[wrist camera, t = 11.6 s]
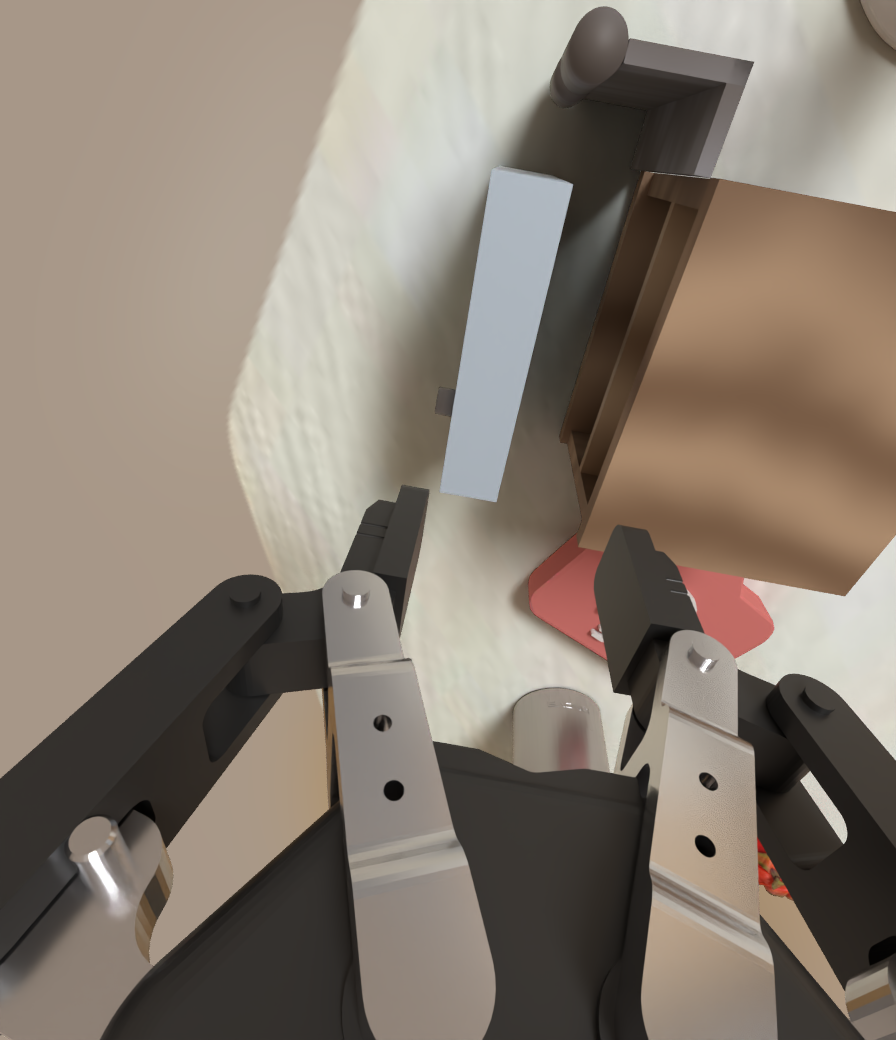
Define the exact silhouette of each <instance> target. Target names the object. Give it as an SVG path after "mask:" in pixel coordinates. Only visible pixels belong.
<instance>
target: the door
mask: <svg viewBox="0 0 896 1040" xmlns="http://www.w3.org/2000/svg"><path fill="white" fill-rule="evenodd" d="M572 188H573V184H571V183H569V182H567V181H564V180H562V179H560V178H557V177H555V176H553V175H548V174H542V173H537V172H531V171H526V170H520V169H515V168H509V167H504V166H497V167H495V168H494V169H492V171H491V177H490V183H489V190H488V196H487V202H486V208H485V214H484V220H483V227H482V233H481V239H480V245H479V251H478V257H477V263H476V270H475V276H474V282H473V288H472V294H471V300H470V307H469V313H468V319H467V325H466V331H465V337H464V344H463V350H462V356H461V362H460V368H459V374H458V381H457V387H456V390H454V389H448V388H443V387H439V391H438V396H437V401H436V408H435V414H440V415H446V416H451V424H450V430H449V436H448V442H447V448H446V454H445V461H444V467H443V473H442V479H441V485H440V491H439V492H441V493H447V494H453V495H458V496H464V497H469V498H475V499H481V500H486V501H492V502H497V498H498V493H499V489H500V485H501V481H502V477H503V473H504V469H505V465H506V460H507V456H508V452H509V448H510V444H511V440H512V436H513V431H514V427H515V423H516V419H517V415H518V411H519V407H520V403H521V398H522V394H523V390H524V386H525V382H526V378H527V374H528V369H529V365H530V361H531V357H532V353H533V349H534V345H535V341H536V336H537V332H538V328H539V324H540V320H541V316H542V312H543V307H544V303H545V299H546V295H547V291H548V287H549V283H550V279H551V274H552V270H553V266H554V262H555V258H556V254H557V250H558V245H559V241H560V237H561V233H562V229H563V225H564V221H565V217H566V212H567V208H568V204H569V200H570V196H571V192H572Z"/></svg>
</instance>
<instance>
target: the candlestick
mask: <svg viewBox="0 0 896 1040" xmlns="http://www.w3.org/2000/svg"><path fill="white" fill-rule="evenodd" d="M860 1H861V4H862V7H863V10H864V12H865V14H866V16H867V18H868V20H869V22H870V23H871V25H872V27H873V28H874V29H875V31H876V32H877V33H878V35H879V36H880V37H881V38H882V39H883V40H884V41H885V42H886V43H887V44H888V45H890V46H891V47H892V48H893V49H895V50H896V0H860Z"/></svg>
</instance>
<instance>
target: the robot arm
mask: <svg viewBox="0 0 896 1040" xmlns="http://www.w3.org/2000/svg"><path fill="white" fill-rule="evenodd" d="M428 497H429V490H428V489H423V488H417V487H412V486H406V485H402V486H401V489H400V492H399V495H398V498H397V501H396V503H394V502H389V501H383V500H378V501H377V502H375V503H374V504H373V505H371V506H370V507H369V508H368V509H366V512H365V514H364V516H363V519H362V521H361V524H360V526H359V529H358V531H357V535H356V536H355V538H354V541H353V543H352V545H351V548H350V550H349V553H348V555H347V558H346V560H345V562H344V565H343V567H342V570H341V572H340V573H338V574H336V575H334V576H332V577H331V578H330V579H329V580H328V581H327V582H326V583H325V585H324V587H323V588H321V589H318V590H314V591H310V592H300V593H284V594H282V592H281V589H280V587H279V586H278V585H277V583H276V582H274V581H273V580H271V579H269V578H267V577H263V576H259V575H241V576H236V577H233V578H230V579H227V580H225V581H224V582H222V583H220V584H219V585H218V586H216V587H215V588H214V589H213V590H212V591H211V592H210V593H208V594H207V595H206V596H205V597H204V598H203V599H202V600H201V601H199V602H198V603H197V604H196V605H195V606H194V607H193V608H192V609H190V610H189V611H188V612H187V613H186V614H185V615H184V616H183V617H181V618H180V619H179V620H178V621H177V622H176V623H175V624H174V625H172V626H171V627H170V628H169V629H168V630H167V631H166V632H165V633H163V634H162V635H161V636H160V637H159V638H158V639H157V640H156V641H155V642H153V643H152V644H151V645H150V646H149V647H148V648H147V649H145V650H144V651H143V652H142V653H141V654H140V655H139V656H138V657H136V658H135V659H134V660H133V661H132V662H131V663H130V664H129V665H127V666H126V667H125V668H124V669H123V670H122V671H121V672H120V673H119V674H117V675H116V676H115V677H114V678H113V679H112V680H111V681H110V682H108V683H107V684H106V685H105V686H104V687H103V688H102V689H101V690H99V691H98V692H97V693H96V694H95V695H94V696H93V697H92V698H90V699H89V700H88V701H87V702H86V703H85V704H84V705H83V706H81V707H80V708H79V709H78V710H77V711H76V712H75V713H74V714H72V715H71V716H70V717H69V718H68V719H67V720H66V721H65V722H64V723H62V724H61V725H60V726H59V727H58V728H57V729H56V730H55V731H53V732H52V733H51V734H50V735H49V736H48V737H47V738H46V739H44V740H43V741H42V742H41V743H40V744H39V745H38V746H37V747H36V748H34V749H33V750H32V751H31V752H30V753H29V754H28V755H27V756H25V757H24V758H23V759H22V760H21V761H20V762H19V763H18V764H16V765H15V766H14V767H13V768H12V769H11V770H10V771H8V772H7V773H6V774H5V775H4V776H3V777H2V778H1V779H0V1035H3V1036H5V1037H7V1038H8V1039H10V1040H896V760H895V759H894V758H893V757H892V756H891V755H890V753H889V752H888V751H887V750H886V749H885V748H884V746H883V745H882V744H881V743H880V742H879V741H878V739H877V738H876V737H875V736H874V735H873V734H872V732H871V731H870V730H869V729H868V728H867V727H866V725H865V724H864V723H863V722H862V721H861V720H860V718H859V717H858V716H857V715H856V714H855V713H854V711H853V710H852V709H851V708H850V707H849V706H848V704H847V703H846V702H845V701H844V700H843V699H842V698H841V697H840V696H839V695H838V694H837V693H836V692H835V691H833V690H832V689H831V688H829V687H828V686H826V685H825V684H823V683H821V682H820V681H818V680H816V679H813V678H811V677H808V676H805V675H800V674H788V675H785V676H784V677H783V678H782V679H781V680H780V681H779V682H778V683H777V685H776V686H775V685H773V684H771V683H768V682H766V681H764V680H761V679H759V678H757V677H754V676H752V675H749V674H747V673H745V672H743V671H741V670H739V669H737V664H736V661H735V659H734V657H733V655H732V654H731V653H730V651H729V650H728V649H727V648H726V647H725V646H723V645H722V644H721V643H720V642H718V641H717V640H716V639H714V638H712V637H710V636H708V635H706V634H705V633H704V630H703V628H702V626H701V623H700V621H699V618H698V616H697V613H696V611H695V609H694V606H693V604H692V601H691V599H690V597H689V596H688V595H687V594H688V592H687V589H686V587H685V584H683V580H682V577H681V575H680V572H679V570H678V567H677V566H676V565H675V564H674V562H673V561H672V560H671V559H670V558H669V557H668V556H667V555H666V554H665V553H664V552H661V551H656V550H655V548H654V545H653V542H652V540H651V537H650V534H649V532H648V531H647V530H645V529H640V528H634V527H629V526H624V525H617V526H616V527H615V528H614V530H613V532H612V534H611V536H610V539H609V541H608V543H607V546H606V548H605V551H604V553H603V555H602V558H601V560H600V562H599V565H598V567H597V570H596V573H595V578H594V595H595V600H596V605H597V610H598V615H599V621H600V626H601V631H602V636H603V641H604V646H605V651H606V656H607V662H608V667H609V672H610V677H611V682H612V687H613V692H614V693H619V694H625V695H631V698H632V703H633V704H632V705H631V707H630V709H629V710H628V712H627V714H626V718H625V722H624V727H623V732H622V736H621V741H620V745H619V750H618V755H617V759H616V764H615V768H614V773H610V770H609V763H608V757H607V751H606V744H605V738H604V732H603V726H602V720H601V714H600V709H599V707H598V706H597V704H596V703H595V702H594V701H593V700H592V699H591V698H589V697H588V696H586V695H584V694H582V693H580V692H577V691H573V690H569V689H562V688H548V689H542V690H538V691H535V692H531V693H529V694H528V695H526V696H524V697H523V698H521V699H520V700H519V701H518V702H517V704H516V705H515V707H514V710H513V764H511V763H509V762H507V761H504V760H502V759H500V758H497V757H495V756H493V755H491V754H488V753H486V752H484V751H481V750H479V749H474V748H468V747H463V746H457V745H452V744H446V743H441V742H435V741H432V737H431V733H430V729H429V725H428V721H427V717H426V712H425V708H424V704H423V700H422V696H421V692H420V688H419V683H418V679H417V675H416V671H415V667H414V664H413V662H412V660H411V659H410V658H407V659H405V658H404V655H403V651H402V647H401V642H400V636H401V632H402V627H403V623H404V619H405V614H406V610H407V606H408V601H409V597H410V593H411V588H412V584H413V580H414V575H415V571H416V567H417V562H418V558H419V553H420V548H421V542H422V536H423V530H424V523H425V517H426V510H427V504H428ZM320 688H322V699H323V713H324V727H325V742H326V759H327V789H328V806H329V810H328V811H327V812H325V813H324V814H323V815H322V816H321V817H320V818H319V819H318V820H317V821H316V822H314V823H313V824H312V825H311V826H310V827H309V828H308V829H306V830H305V831H304V832H303V833H302V834H301V835H300V836H299V837H298V838H296V839H295V840H294V841H293V842H292V843H291V844H290V845H289V846H287V847H286V848H285V849H284V850H283V851H282V852H281V853H280V854H279V855H277V856H276V857H275V858H274V859H273V860H272V861H271V862H270V863H268V864H267V865H266V866H265V867H264V868H263V869H262V870H261V871H260V872H258V873H257V874H256V875H255V876H254V877H253V878H252V879H251V880H249V882H247V883H246V884H245V885H244V886H243V887H242V888H241V889H239V890H238V891H237V892H236V893H235V894H234V895H233V896H232V897H230V898H229V899H228V900H227V901H226V902H225V903H224V904H223V905H222V906H220V907H219V908H218V909H217V910H216V911H215V912H214V913H213V914H212V915H210V916H209V917H208V918H207V919H206V920H205V921H204V922H203V923H202V924H200V925H199V926H198V927H197V928H196V929H195V930H194V931H192V932H191V933H190V934H189V935H188V936H187V937H186V938H185V939H183V940H182V941H181V942H180V943H179V944H178V945H177V946H176V947H175V948H173V949H172V950H171V951H170V952H169V953H168V954H167V955H166V956H165V957H163V958H162V959H161V960H160V961H159V962H158V963H157V964H156V965H155V966H153V965H151V964H150V957H149V949H150V940H151V936H152V932H153V929H154V926H155V924H156V921H157V919H158V917H159V916H160V914H161V912H162V910H163V908H164V906H165V905H166V902H167V900H168V898H169V895H170V893H171V889H172V885H173V868H172V864H171V861H170V858H169V855H168V853H167V850H166V848H167V847H168V845H169V844H170V842H171V841H172V840H173V839H174V837H175V836H176V835H177V833H178V832H179V831H180V829H181V828H182V826H183V825H184V824H185V822H186V821H187V820H188V819H189V817H190V816H191V815H192V813H193V812H194V811H195V809H196V808H197V807H198V805H199V804H200V803H201V801H202V800H203V799H204V798H205V796H206V795H207V794H208V792H209V791H210V790H211V788H212V787H213V785H214V784H215V783H216V782H217V780H218V779H219V778H220V776H221V775H222V773H223V772H224V771H225V770H226V768H227V767H228V765H229V764H230V763H231V762H232V760H233V759H234V758H235V756H236V755H237V754H238V752H239V751H240V750H241V748H242V747H243V745H244V744H245V743H246V742H247V740H248V739H249V737H250V736H251V735H252V733H253V732H254V731H255V730H256V728H257V727H258V726H259V724H260V723H261V722H262V720H263V719H264V718H265V716H266V715H267V714H268V712H269V711H270V710H271V708H272V707H273V706H274V704H275V703H276V702H277V700H278V699H279V698H280V696H281V695H282V693H285V692H293V691H302V690H311V689H320ZM809 771H811V773H812V774H813V775H814V777H815V778H816V780H817V781H818V782H819V784H820V785H821V787H822V788H823V789H824V791H825V792H826V794H827V795H828V797H829V798H830V799H831V801H832V802H833V804H834V805H835V806H836V808H837V809H838V811H839V812H840V814H841V815H842V817H843V819H844V821H845V823H846V827H847V833H848V834H847V840H846V842H845V843H844V844H843V843H842V842H841V840H840V839H839V837H838V836H837V834H836V833H835V831H834V830H833V828H832V827H831V825H830V824H829V823H828V821H827V820H826V818H825V817H824V815H823V814H822V812H821V811H820V809H819V808H818V806H817V805H816V804H815V802H814V801H813V799H812V798H811V796H810V795H809V793H808V792H807V790H806V789H805V787H804V786H803V784H802V783H801V782H800V780H801V779H802V778H803V777H804V776H805V775H806V774H807V773H808V772H809ZM757 837H758V839H759V841H760V843H761V844H762V846H763V848H764V850H765V851H766V853H767V855H768V857H769V859H770V860H771V862H772V864H773V866H774V867H775V869H776V871H777V873H778V874H779V876H780V878H781V880H782V881H783V883H784V885H785V887H786V888H787V890H788V892H789V894H790V896H791V897H792V899H793V901H794V903H795V904H796V906H797V908H798V910H799V911H800V913H801V915H802V917H803V918H804V920H805V922H806V924H807V925H808V927H809V929H810V931H811V932H812V934H813V936H814V938H815V939H816V941H817V943H818V945H819V947H820V948H821V950H822V952H823V954H824V955H825V957H826V959H827V961H828V962H829V964H830V966H831V968H832V969H833V971H834V973H835V975H836V977H837V978H838V980H839V982H840V983H841V985H842V987H843V989H844V991H845V1000H846V1006H847V1010H848V1014H849V1017H850V1018H849V1019H848V1018H847V1017H846V1016H845V1015H844V1014H843V1013H842V1011H841V1010H840V1009H839V1008H838V1007H837V1006H836V1004H835V1003H834V1002H833V1001H832V999H831V998H830V997H829V996H828V995H827V993H826V992H825V991H824V990H823V989H822V988H821V987H820V985H819V984H818V983H817V982H816V980H815V979H814V978H813V977H812V976H811V974H810V973H809V972H808V971H807V970H806V969H805V967H804V966H803V965H802V964H801V963H800V961H799V960H798V959H797V958H796V957H795V955H794V954H793V953H792V952H791V951H790V949H789V948H788V947H787V946H786V945H785V944H784V942H783V941H782V940H781V939H780V938H779V936H778V935H777V934H776V933H775V932H774V930H773V929H772V928H771V927H770V926H769V924H768V923H767V922H766V921H765V920H764V919H763V917H762V916H761V915H760V913H759V882H758V851H757Z"/></svg>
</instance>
